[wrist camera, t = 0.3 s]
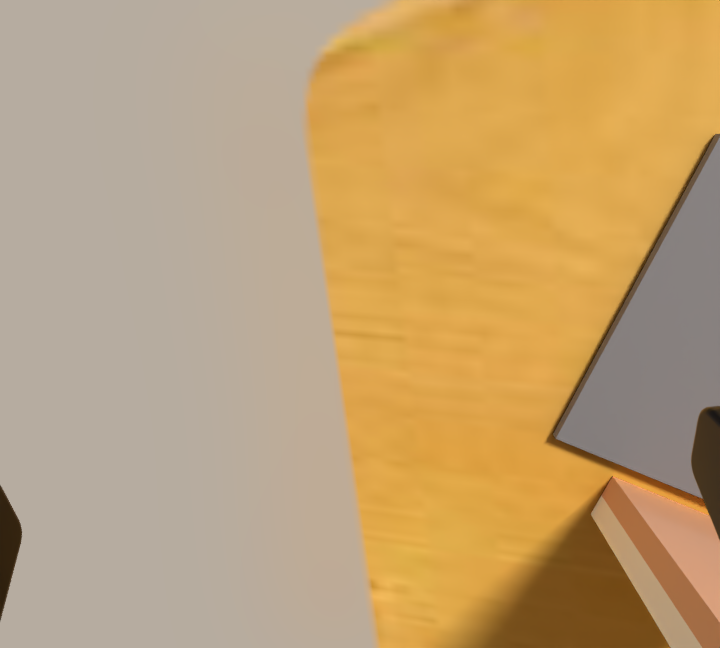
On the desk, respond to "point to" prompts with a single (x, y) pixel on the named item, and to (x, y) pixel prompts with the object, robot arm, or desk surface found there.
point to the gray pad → (660, 348)
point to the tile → (666, 560)
